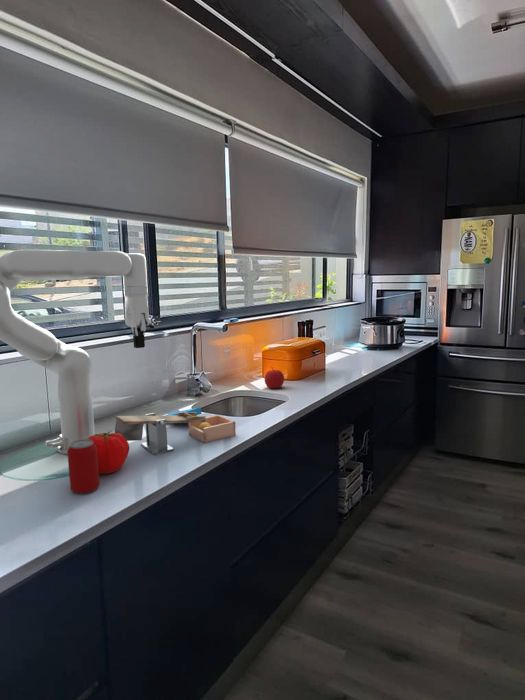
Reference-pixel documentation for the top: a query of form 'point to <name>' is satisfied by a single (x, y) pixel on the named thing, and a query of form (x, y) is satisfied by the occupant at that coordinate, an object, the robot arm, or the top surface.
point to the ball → (204, 425)
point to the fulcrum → (156, 437)
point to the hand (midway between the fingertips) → (139, 347)
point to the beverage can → (83, 466)
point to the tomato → (110, 451)
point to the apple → (274, 379)
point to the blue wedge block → (197, 410)
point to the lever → (134, 424)
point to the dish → (213, 428)
